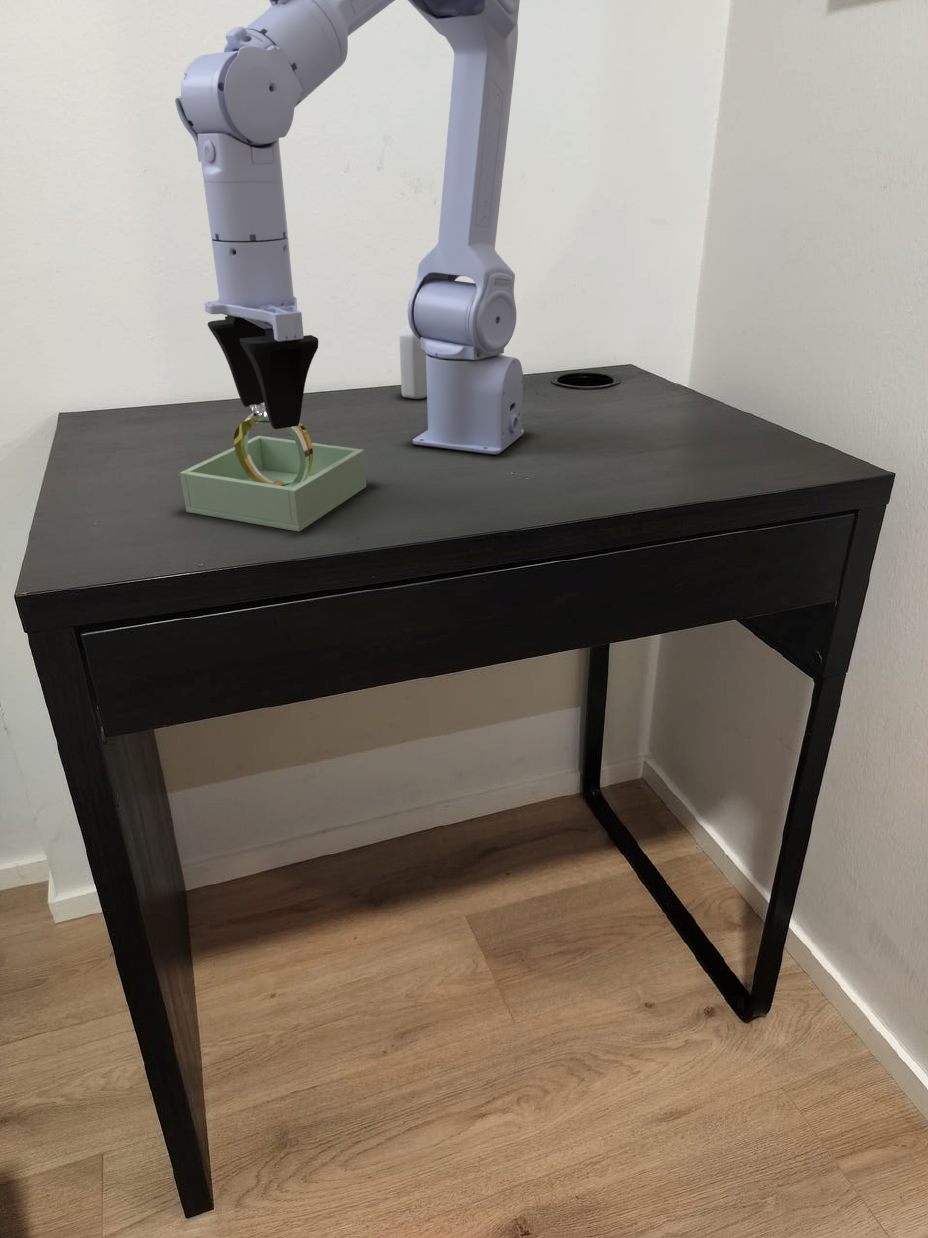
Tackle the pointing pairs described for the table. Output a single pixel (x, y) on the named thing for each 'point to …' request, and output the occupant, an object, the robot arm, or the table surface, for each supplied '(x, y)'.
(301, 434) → the ring
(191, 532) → the table surface
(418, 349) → the eye dropper bottle
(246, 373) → the robot arm
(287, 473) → the bin
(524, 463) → the table surface
